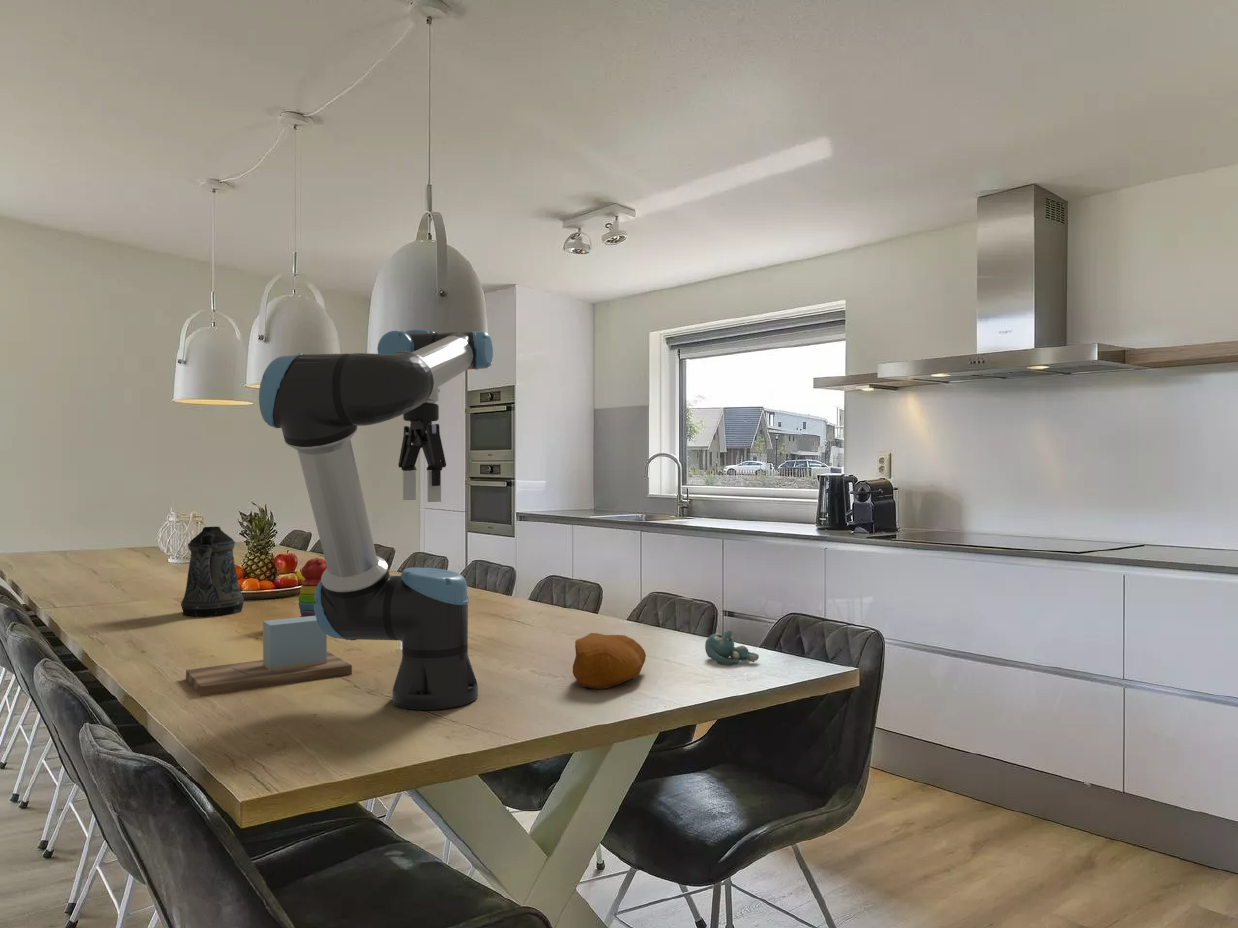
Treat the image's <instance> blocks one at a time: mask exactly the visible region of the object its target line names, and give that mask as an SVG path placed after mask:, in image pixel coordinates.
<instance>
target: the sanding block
mask: <svg viewBox="0 0 1238 928" xmlns="http://www.w3.org/2000/svg"><path fill="white" fill-rule="evenodd" d="M262 636H263V637H262V653H263V654H262V655H263V656H262V660H263V666H265V667H266V668H267V669H269V670H270V671H273V670H280V669H288V668H295V667H302V666H310V665H317V664H325V663H327V652H328V651H327V648H328V647H327V642H328V641H327V637H328V635H327V634H326V633H324V631H323V630H322V629H321V628H320V626H319V624H318V622H317V619H316V616H307V617H300V616H298V617H290V618H281V619H271V620H263V622H262Z"/></svg>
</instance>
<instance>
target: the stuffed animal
mask: <svg viewBox="0 0 1238 928" xmlns="http://www.w3.org/2000/svg"><path fill="white" fill-rule="evenodd" d="M732 634H733V631H732V630H731V629H729V630H725V631H724V632H723V633H719V632H715V633H713V634H711V635H710V636H709V637H708V638H707V639H706V640H705V644H704V649H705V653H706V656H707V658H710V659H712V660H714V661H715V662H716V663H717V664H719V665H723V666H733V665H739V664H740V661H746V660H747V661H749V662H752V663H754V662H757V661H758V659H759V657H760V656H759V654H757V653H755V652H750V651H749V649H748V648H747V647H746V646H745V645H738V646H735V641H734V637H733V636H732ZM729 658H731V659H729Z"/></svg>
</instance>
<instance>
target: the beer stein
mask: <svg viewBox="0 0 1238 928" xmlns="http://www.w3.org/2000/svg"><path fill="white" fill-rule="evenodd" d="M235 546H236V542H235V539H234V538H232V537H231V536H229V534H227V533H225V531H223V530H222V529H221V526H204V527H203V528H202V530H201V532H199V533H198V534H197V535H196V536H195V537H193V538H192V539H191V540H190V541H189V542H188V544H187V547H188V550H189V551H190V558H189V565H188V572H187V579H186V587H185V591H184V596H183V598H182V601H181V603H180V606H181V609H182V615H183V616H185V617H189V618H213V617H223V616H230V615H235V614H238V613H241V612H243V611H242V610H243V606H244V602H245V601H244V600H245V599H244V598H245V597H244V596H243V594H242V591H241V587H240V584H239V580H238V574H237V568H236V564H235V556H234V548H235Z"/></svg>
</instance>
